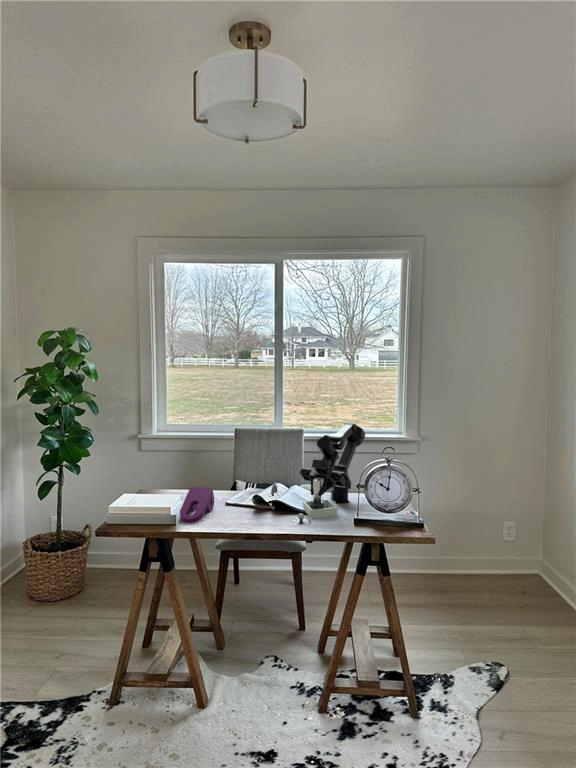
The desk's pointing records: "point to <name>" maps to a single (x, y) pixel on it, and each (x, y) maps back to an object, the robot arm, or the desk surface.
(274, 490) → the pocket watch
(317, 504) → the strut
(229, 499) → the desk surface
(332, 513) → the bin
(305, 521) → the stud plate
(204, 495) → the mounting bracket
